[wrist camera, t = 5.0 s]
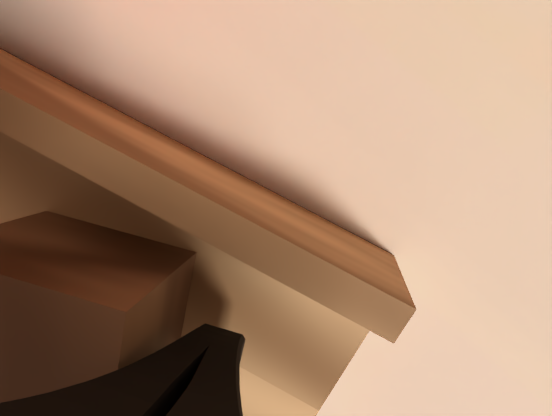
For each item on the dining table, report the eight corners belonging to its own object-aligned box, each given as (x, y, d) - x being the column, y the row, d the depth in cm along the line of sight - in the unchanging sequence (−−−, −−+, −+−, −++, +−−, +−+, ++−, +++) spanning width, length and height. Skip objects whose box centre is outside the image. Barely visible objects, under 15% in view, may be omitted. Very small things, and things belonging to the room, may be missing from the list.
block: (196, 252, 12) (126, 311, 8) (170, 393, 13) (97, 505, 9) (46, 210, 12) (-88, 247, 9) (33, 349, 14) (-90, 438, 10)
